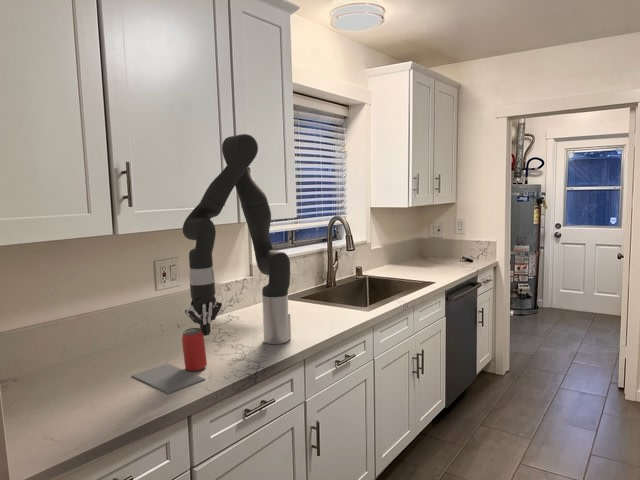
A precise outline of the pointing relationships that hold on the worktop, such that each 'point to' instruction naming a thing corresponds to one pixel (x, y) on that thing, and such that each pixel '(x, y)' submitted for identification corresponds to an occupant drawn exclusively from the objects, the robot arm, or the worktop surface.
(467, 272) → the worktop surface
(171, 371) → the slate mat
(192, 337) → the beer can
